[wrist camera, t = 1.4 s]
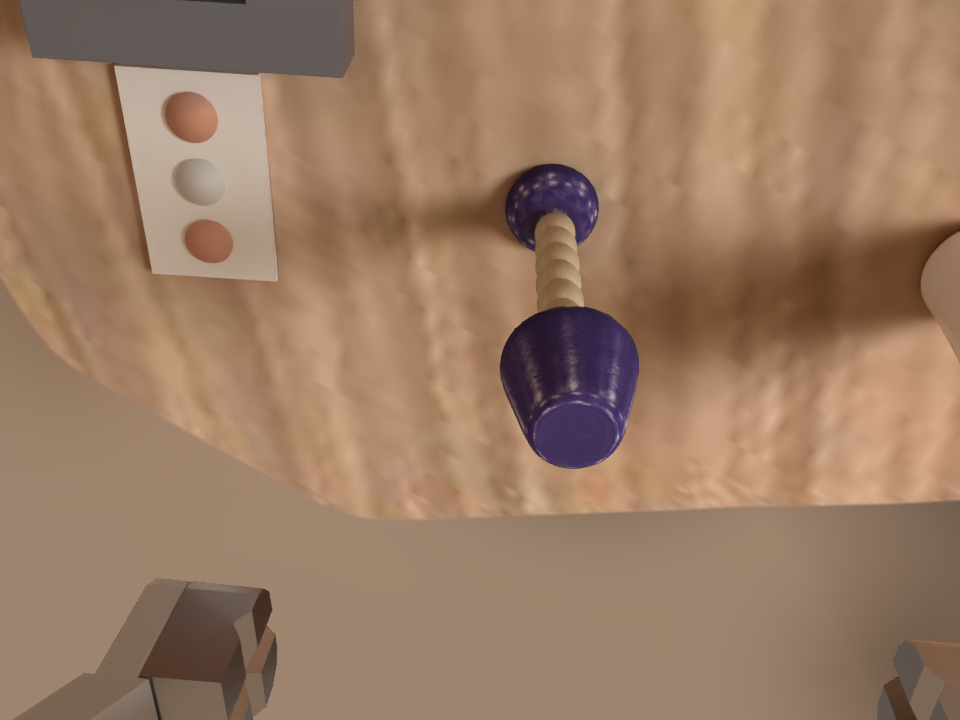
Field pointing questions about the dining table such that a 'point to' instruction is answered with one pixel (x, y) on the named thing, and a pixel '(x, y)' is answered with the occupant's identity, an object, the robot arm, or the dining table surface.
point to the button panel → (197, 33)
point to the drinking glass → (944, 289)
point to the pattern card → (200, 170)
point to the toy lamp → (565, 331)
